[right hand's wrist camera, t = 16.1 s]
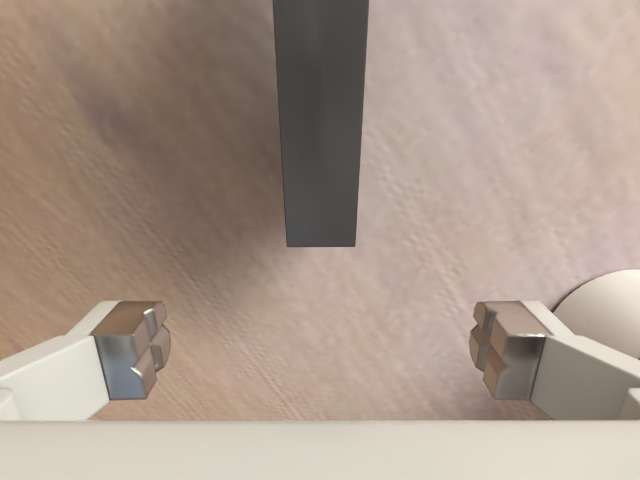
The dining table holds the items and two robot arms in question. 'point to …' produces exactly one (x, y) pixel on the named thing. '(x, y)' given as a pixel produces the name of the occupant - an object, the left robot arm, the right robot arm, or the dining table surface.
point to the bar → (320, 116)
